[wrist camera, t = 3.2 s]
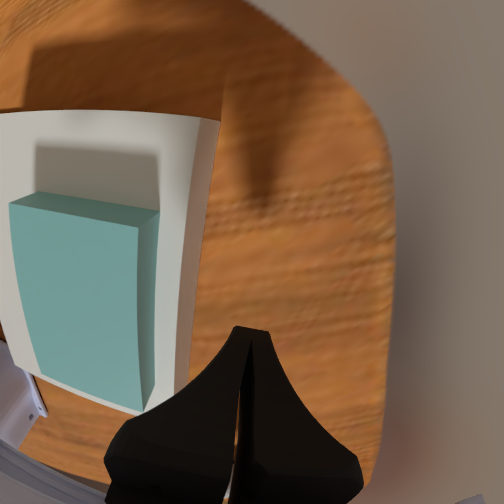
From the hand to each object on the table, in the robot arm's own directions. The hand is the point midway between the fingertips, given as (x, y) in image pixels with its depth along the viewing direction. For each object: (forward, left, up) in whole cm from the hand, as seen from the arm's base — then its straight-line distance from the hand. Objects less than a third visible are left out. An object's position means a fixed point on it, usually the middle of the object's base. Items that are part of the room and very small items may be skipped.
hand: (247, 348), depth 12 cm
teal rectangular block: (0, +7, -1) cm, 7 cm away
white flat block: (0, +9, -5) cm, 10 cm away
